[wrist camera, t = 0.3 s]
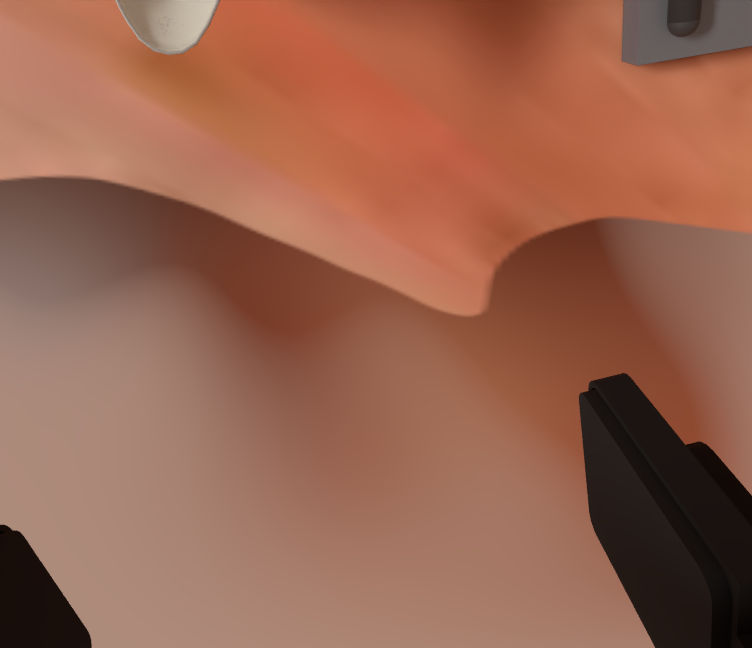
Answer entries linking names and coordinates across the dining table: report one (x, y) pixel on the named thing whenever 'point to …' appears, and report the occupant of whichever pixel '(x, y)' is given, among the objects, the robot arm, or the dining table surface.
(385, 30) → the dining table surface
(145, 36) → the pitcher
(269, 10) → the dining table surface
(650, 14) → the breaker panel
